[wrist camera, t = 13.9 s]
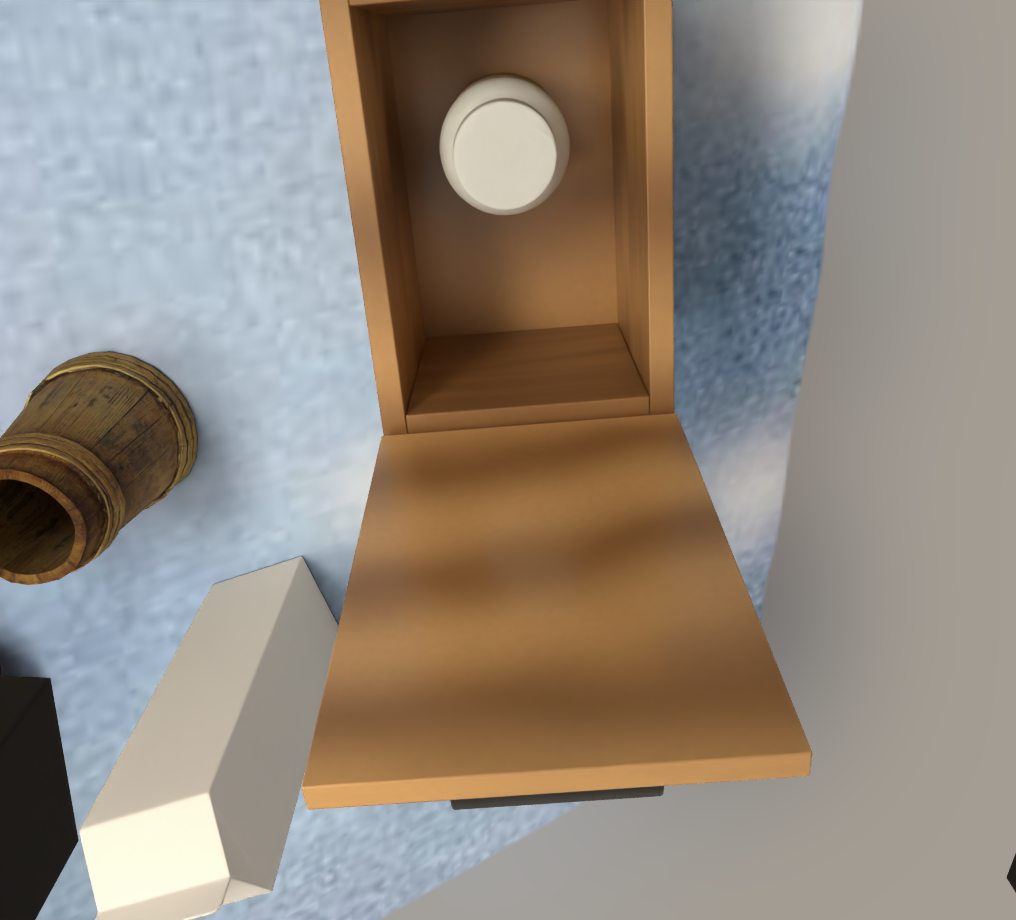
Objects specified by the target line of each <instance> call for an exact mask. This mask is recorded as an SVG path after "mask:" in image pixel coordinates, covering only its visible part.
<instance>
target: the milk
mask: <svg viewBox="0 0 1016 920" xmlns="http://www.w3.org/2000/svg"><path fill="white" fill-rule="evenodd" d="M337 630H338V624H337V623H336V621H335V619H334V617H333V615H332V613H331V611H330V609H329V607H328V605H327V603H326V601H325V599H324V598H323V596H322V594H321V592H320V590H319V588H318V586H317V584H316V582H315V580H314V578H313V576H312V574H311V573H310V571H309V569H308V567H307V565H306V563H305V561H304V559H303V557H297V558H294V559H291V560H288V561H285V562H282V563H279V564H276V565H273V566H269V567H266V568H263V569H260V570H257V571H254V572H251V573H248V574H245V575H242V576H239V577H235V578H232V579H229V580H226V581H223V582H220V583H217V584H214V585H212V587H211V588H210V590H209V592H208V594H207V596H206V598H205V599H204V601H203V603H202V605H201V607H200V609H199V611H198V612H197V614H196V616H195V618H194V620H193V622H192V623H191V625H190V627H189V629H188V631H187V633H186V635H185V636H184V638H183V640H182V642H181V644H180V646H179V647H178V649H177V651H176V653H175V655H174V657H173V659H172V660H171V662H170V664H169V666H168V668H167V670H166V671H165V673H164V675H163V677H162V679H161V681H160V683H159V684H158V686H157V688H156V690H155V692H154V694H153V695H152V697H151V699H150V701H149V703H148V705H147V707H146V708H145V710H144V712H143V714H142V716H141V718H140V720H139V721H138V723H137V725H136V727H135V729H134V731H133V732H132V734H131V736H130V738H129V740H128V742H127V744H126V745H125V747H124V749H123V751H122V753H121V755H120V756H119V758H118V760H117V762H116V764H115V766H114V768H113V769H112V771H111V773H110V775H109V777H108V779H107V780H106V782H105V784H104V786H103V788H102V790H101V792H100V793H99V795H98V797H97V799H96V801H95V803H94V804H93V806H92V808H91V810H90V812H89V814H88V816H87V817H86V819H85V821H84V823H83V825H82V827H81V829H80V837H81V841H82V845H83V850H84V854H85V858H86V863H87V867H88V871H89V876H90V880H91V884H92V888H93V893H94V897H95V901H96V906H97V910H98V914H97V917H96V919H95V920H190V919H194V918H198V917H201V916H205V915H209V914H212V913H214V912H216V911H217V910H218V909H219V908H220V907H221V905H224V904H228V903H231V902H235V901H239V900H242V899H246V898H250V897H253V896H257V895H261V894H265V893H268V892H271V891H272V890H273V887H274V883H275V880H276V876H277V872H278V868H279V865H280V861H281V857H282V854H283V850H284V846H285V843H286V839H287V835H288V832H289V828H290V824H291V821H292V817H293V813H294V810H295V806H296V802H297V799H298V795H299V791H300V788H301V784H302V780H303V777H304V773H305V769H306V766H307V761H308V757H309V753H310V748H311V744H312V740H313V735H314V731H315V726H316V722H317V718H318V713H319V709H320V705H321V700H322V696H323V691H324V687H325V683H326V678H327V674H328V670H329V665H330V661H331V656H332V652H333V648H334V643H335V639H336V635H337Z"/></svg>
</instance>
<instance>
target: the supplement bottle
mask: <svg viewBox="0 0 1016 920" xmlns="http://www.w3.org/2000/svg"><path fill="white" fill-rule="evenodd" d="M569 155H570V139H569V133H568V128H567V125H566V122H565V119H564V116H563V114H562V113H561V111H560V109H559V107H558V106H557V104H556V103H555V102H554V101H553V99H552V98H551V97H550V96H549V95H548V94H547V93H546V91H545V90H544V89H543V88H542V87H541V86H540V85H538V84H537V83H536V82H534V81H533V80H531V79H529V78H527V77H525V76H522V75H519V74H515V73H507V72H500V73H493V74H488V75H486V76H483V77H481V78H479V79H477V80H475V81H474V82H472V83H471V84H470V85H468V86H467V87H466V88H465V89H464V90H463V91H462V92H461V93H460V94H459V96H458V97H457V99H456V100H455V101H454V103H453V104H452V106H451V107H450V109H449V111H448V113H447V115H446V117H445V119H444V122H443V125H442V129H441V134H440V158H441V163H442V167H443V170H444V172H445V175H446V177H447V179H448V181H449V183H450V184H451V186H452V188H453V189H454V190H455V191H456V193H457V194H458V195H459V196H460V197H461V198H462V199H463V200H465V201H466V202H467V203H468V204H470V205H471V206H473V207H475V208H477V209H479V210H481V211H483V212H486V213H490V214H495V215H515V214H520V213H523V212H526V211H529V210H531V209H533V208H535V207H537V206H538V205H540V204H541V203H543V202H544V201H545V200H546V199H548V198H549V197H550V196H551V194H552V193H553V192H554V191H555V190H556V188H557V187H558V186H559V184H560V182H561V180H562V178H563V176H564V174H565V171H566V169H567V165H568V161H569Z"/></svg>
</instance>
